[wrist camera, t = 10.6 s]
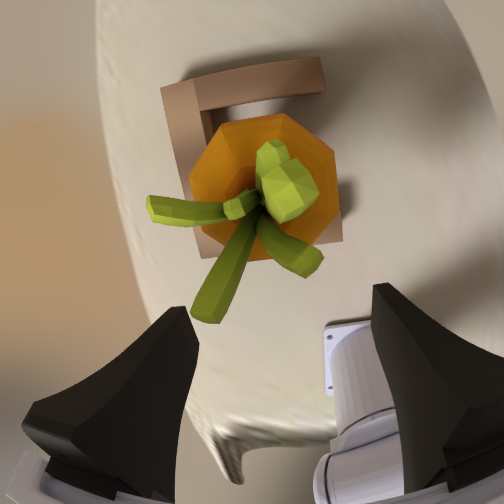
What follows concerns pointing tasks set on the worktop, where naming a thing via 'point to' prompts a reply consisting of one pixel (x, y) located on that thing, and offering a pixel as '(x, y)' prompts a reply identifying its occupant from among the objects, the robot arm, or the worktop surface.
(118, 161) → the worktop surface
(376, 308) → the robot arm
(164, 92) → the walnut bracket
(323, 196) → the carrot
